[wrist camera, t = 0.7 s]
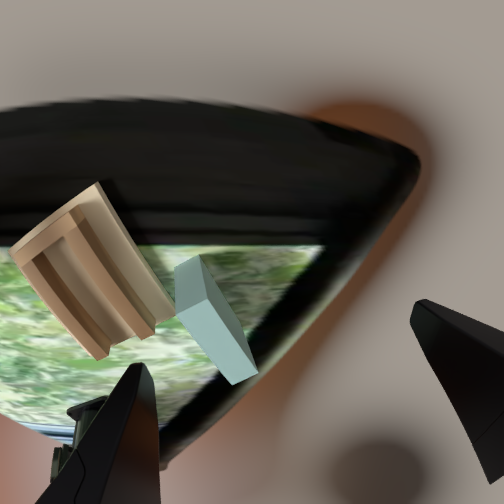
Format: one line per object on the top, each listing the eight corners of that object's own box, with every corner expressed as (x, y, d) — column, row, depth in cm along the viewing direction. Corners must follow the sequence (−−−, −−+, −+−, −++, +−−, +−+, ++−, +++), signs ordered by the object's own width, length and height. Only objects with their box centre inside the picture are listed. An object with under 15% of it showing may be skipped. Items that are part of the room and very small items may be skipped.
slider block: (218, 332, 24) (232, 385, 19) (174, 266, 21) (175, 314, 15) (239, 322, 24) (258, 372, 19) (198, 254, 21) (207, 298, 16)
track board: (92, 349, 22) (87, 371, 19) (13, 245, 17) (-4, 261, 14) (177, 306, 22) (179, 328, 20) (98, 181, 17) (85, 189, 15)
